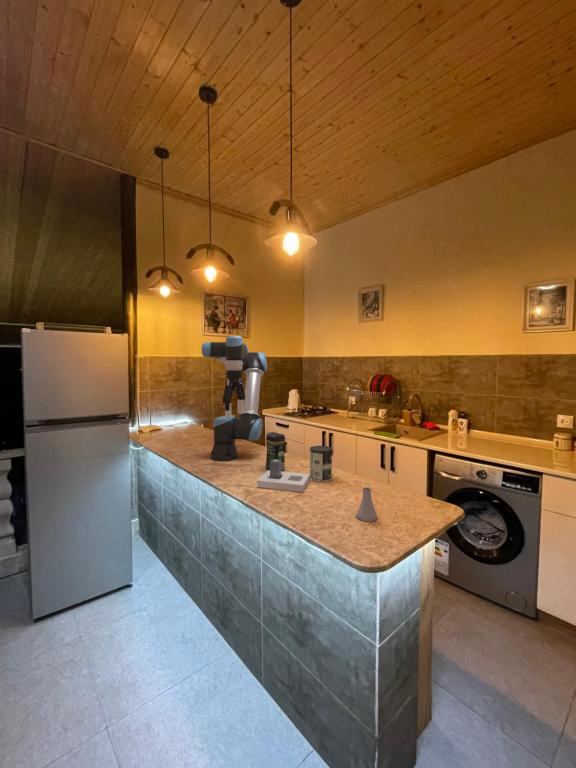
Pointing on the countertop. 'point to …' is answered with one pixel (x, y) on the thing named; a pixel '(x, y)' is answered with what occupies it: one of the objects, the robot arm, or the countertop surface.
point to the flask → (366, 507)
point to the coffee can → (321, 463)
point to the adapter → (275, 469)
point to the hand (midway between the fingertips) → (234, 415)
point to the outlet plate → (285, 481)
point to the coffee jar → (275, 448)
